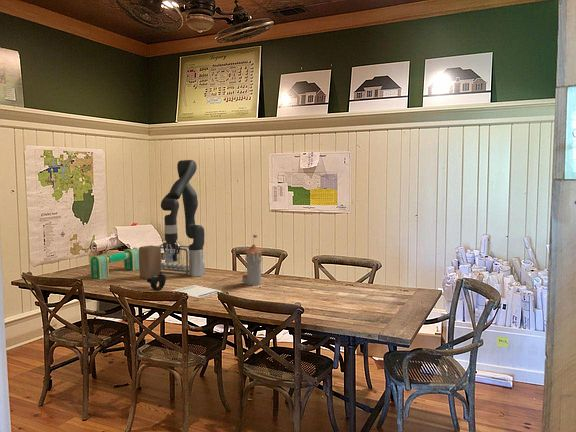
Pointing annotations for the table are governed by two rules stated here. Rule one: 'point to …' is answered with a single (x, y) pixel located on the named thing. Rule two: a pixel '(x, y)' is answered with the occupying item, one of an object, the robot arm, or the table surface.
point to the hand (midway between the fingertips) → (171, 260)
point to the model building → (253, 266)
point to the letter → (197, 291)
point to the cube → (170, 257)
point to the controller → (154, 280)
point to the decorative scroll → (101, 262)
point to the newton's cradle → (176, 264)
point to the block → (149, 261)
